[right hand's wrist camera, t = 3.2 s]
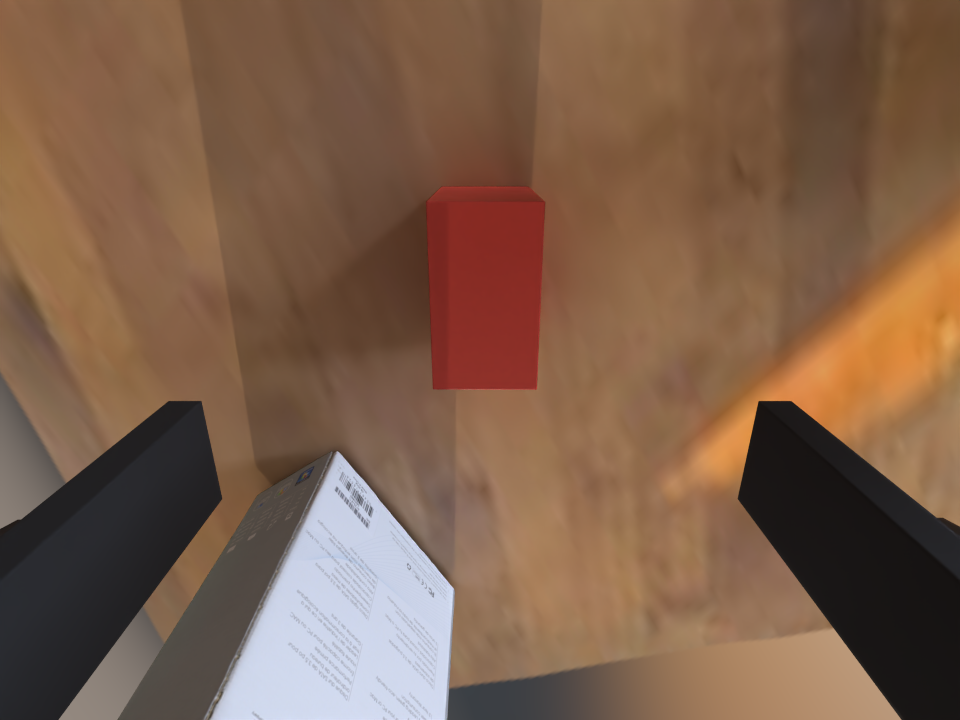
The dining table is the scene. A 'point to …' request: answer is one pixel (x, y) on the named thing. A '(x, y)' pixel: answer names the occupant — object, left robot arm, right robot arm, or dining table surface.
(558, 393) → the dining table surface
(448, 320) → the block
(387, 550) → the hard drive box
